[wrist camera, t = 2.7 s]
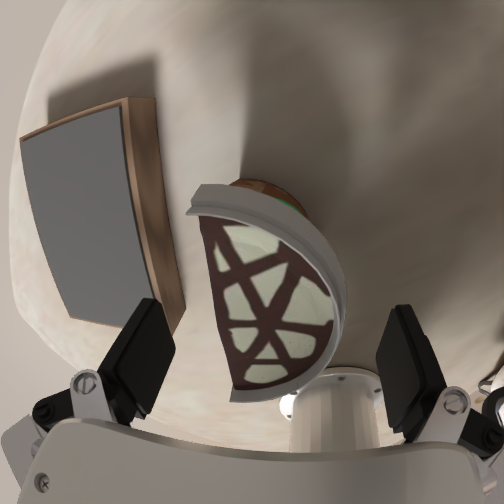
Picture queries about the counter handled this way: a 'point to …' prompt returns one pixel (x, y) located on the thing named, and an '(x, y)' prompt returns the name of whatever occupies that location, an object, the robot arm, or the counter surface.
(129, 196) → the plinth
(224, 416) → the counter surface
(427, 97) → the counter surface
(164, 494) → the robot arm
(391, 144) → the counter surface
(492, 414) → the coffee press
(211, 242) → the food container
